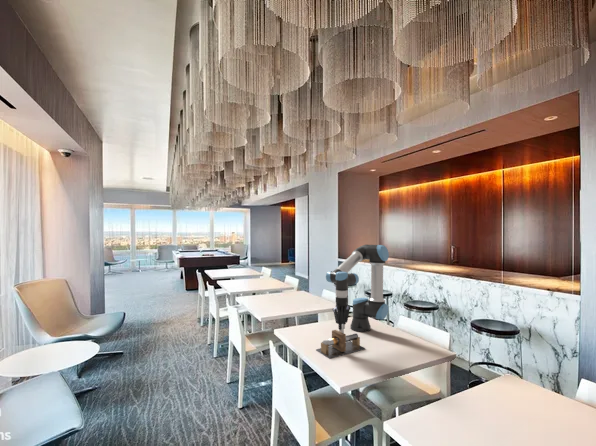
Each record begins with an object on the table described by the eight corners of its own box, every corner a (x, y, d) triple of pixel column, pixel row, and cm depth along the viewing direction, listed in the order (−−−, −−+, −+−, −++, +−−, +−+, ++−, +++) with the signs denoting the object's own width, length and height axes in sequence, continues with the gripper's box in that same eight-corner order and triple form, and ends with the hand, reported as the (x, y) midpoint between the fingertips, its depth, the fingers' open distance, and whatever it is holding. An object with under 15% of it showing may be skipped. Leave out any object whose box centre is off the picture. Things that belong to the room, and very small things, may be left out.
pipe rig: (350, 342, 196) (350, 329, 196) (365, 349, 184) (365, 336, 184) (316, 350, 182) (316, 337, 182) (329, 358, 170) (329, 344, 170)
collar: (335, 345, 187) (335, 329, 187) (345, 351, 178) (345, 334, 179) (331, 346, 185) (331, 330, 186) (341, 351, 177) (341, 335, 177)
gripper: (345, 294, 191) (345, 331, 190) (329, 296, 184) (329, 334, 183) (353, 296, 184) (353, 334, 183) (337, 298, 178) (337, 338, 177)
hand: (341, 334), depth 183 cm, fingers closed
